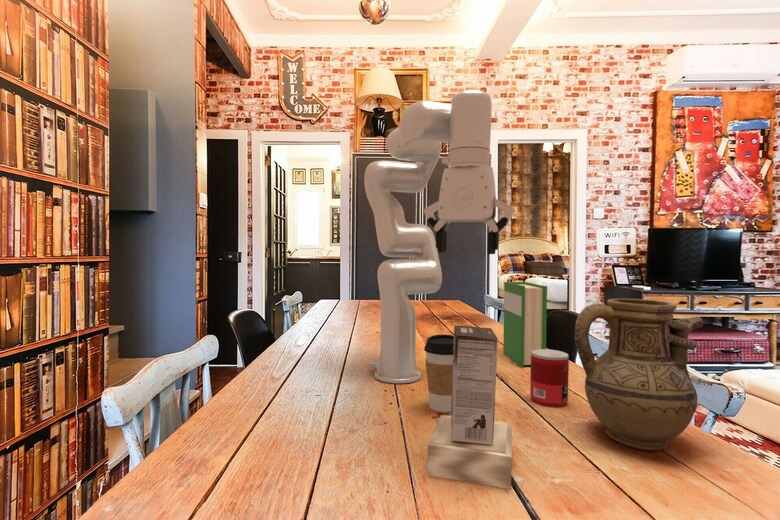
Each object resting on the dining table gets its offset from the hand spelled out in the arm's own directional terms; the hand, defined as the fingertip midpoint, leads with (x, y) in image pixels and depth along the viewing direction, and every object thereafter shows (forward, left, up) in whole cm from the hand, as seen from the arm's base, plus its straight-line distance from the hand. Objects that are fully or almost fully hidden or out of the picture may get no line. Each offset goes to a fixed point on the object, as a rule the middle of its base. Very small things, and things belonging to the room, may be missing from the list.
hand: (466, 253), depth 78 cm
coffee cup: (-7, +8, -34) cm, 35 cm away
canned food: (+13, +23, -34) cm, 43 cm away
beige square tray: (+5, -12, -34) cm, 36 cm away
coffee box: (+5, -12, -29) cm, 31 cm away
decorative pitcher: (+29, +10, -34) cm, 45 cm away
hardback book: (+2, +58, -34) cm, 67 cm away
